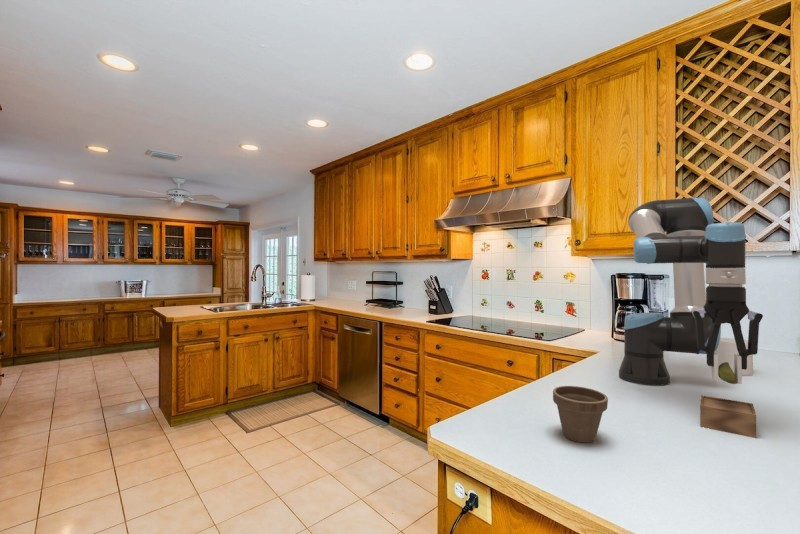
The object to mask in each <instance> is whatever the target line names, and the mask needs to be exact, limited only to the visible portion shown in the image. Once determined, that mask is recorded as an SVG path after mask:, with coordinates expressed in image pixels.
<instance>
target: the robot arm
mask: <svg viewBox="0 0 800 534" xmlns="http://www.w3.org/2000/svg"><path fill="white" fill-rule="evenodd" d="M711 205H712V204H711V203H710V201H709V200H708V199H707V198H704V197H688V198H687V197H686V198H684V197H683V198H673V199H661V200H660V199H657V200H656V199H655V200H650V201H648V202H644V203H643V204H641V205H638V206H637V207H636V208H635V209H633V211H632V212H631V213H630V215H629V216H628V220H627V221H628V222H627V223H628V226H629V229H630V230H631V232H632V233H634V234H635V237H636V238H635V239H634V240H633V247H632V249H633V260H634V262H635V263H636V264H647V265H650V264H672V267H673V268H672V270H673V271H672V273H673V274H672V275H673V295H674V308H672V309H671V310H670V312H669V317H668V316H665V315H664V313H663V312H658V311H657V312H650V311H649V312H639V313H631V314H628V315H626V316H625V317H624V326H623V330H624V332H623V333H624V334H623V335H624V341H623V342H624V347H623V349H624V355H623V358H622V361H621V364H620V365H619V366H620V367H619V369H618V377H619V378H620V379H622V380H624V381H627V382H630V383H633V384H639V385H640V384H641V385H646V386H648V385H649V386H666V385H669V384H670V383H671V375H670V373H669V370H668V368H667V365H666V362H665V359H664V357H665V356H664V353H665V352H671V353H672V352H673V353H683V354H695V355H699V354H700V355H706V365H707V366H708V367H711V379H712V381H714V382H719V376H718V354H716V353H714V352H715V351H716V350H717V348H718V345H719V342H720V338H721V336H722V335H721V334H722V328H721V326H722V324H729V325H730V327H731V330H732V333H733V338H734V339H735V342H736V346H737V350H738V353H739V355H736V354H734V374H735V377H736V379H737V383H738V384H739V385H742V384H743V383H742V382H743V380H742V379H743V378H742V377H743V376H742V369H744V370H746V369H747V356H749V355H753V356H754V355H757V354H758V352H759V351H758V349H759V347H758V346H759V334H760V333H759V332H760V331H759V330H760V322H761V321H762V319H763V317H764V315H763V313H759V312H755V311H752V310H750V308H749V307H748V305H747V288H745V286H744V285H746V284H747V281H746V279H747V277H746V239H747V236H746V231H745V225H744V224H743V223H742V222H736V221H735V222H734V221H732V222H719V223H718V222H717V223H714V217H715V216H714V212H713V208H712V206H711ZM706 284H707V285H708V286H706ZM745 316H747V319H748V320H749V322H748V337H747V339H748V349H746V346H745V342H744V340H745V339H744V335H743V331H742V324H741V321H742V319H744V318H745Z"/></svg>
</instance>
